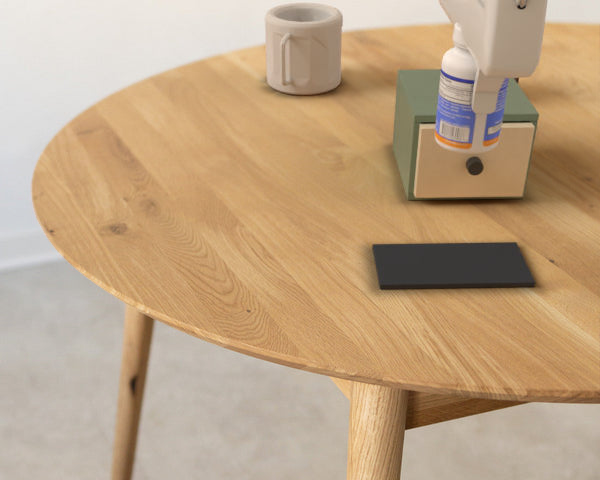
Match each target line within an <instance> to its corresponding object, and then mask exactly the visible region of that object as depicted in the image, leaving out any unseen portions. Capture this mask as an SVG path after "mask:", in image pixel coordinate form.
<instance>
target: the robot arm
mask: <svg viewBox="0 0 600 480" xmlns="http://www.w3.org/2000/svg"><path fill="white" fill-rule="evenodd" d="M438 3H439V5H440V7H441V8H442V10H443V12H444V13H445V15H446V16H447V18H448V19H449V21H450V23H451V24H452V26H453V27H454V26H455V23H456V22H457V24H458V25H459V27H460V29H461V38H462V40H463V42H464V44H465V45H466V47H467V48H468V50H469V52H470V53H471V55H472V56H473V58H474V60H475V61H476V65H475V69H476V70H477V72H476V77H475V82H474V85H471V91H470V99H469V103H470V106H471V108H472V110H473V112H474V113H476V114H491V113H493V112H494V111H495V109H496V104H497V98H498V92H499V90H500V88H501V86H502V84H503V82H504V80H505V78H519V79H523V78H531V77H532V76H533V74H534V73H535V72H536V69H537V68H538V65H539V62H540V59H541V55H542V48H543V41H544V33H545V25H546V17H547V7H548V0H438ZM453 33H454V29H453V31H452V34H453ZM453 47H455V44H454V43H453Z"/></svg>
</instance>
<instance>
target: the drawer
mask: <svg viewBox="0 0 600 480" xmlns="http://www.w3.org/2000/svg"><path fill="white" fill-rule="evenodd" d="M421 123H422V124H420V127H419V138H418V149H417V160H416V171H415V182H414V196H415V198H442V197H516V196H523V190H524V185H525V179H526V174H527V168H528V163H529V157H530V152H531V146H532V141H533V135H534V130H535V127H534V125H533V124H532V123H521V121H502V127H501V133H500V139H499V142H498V144H497V146H496V147H495V148H494V149H492V150H490V151H488V152H484V153H476V154H467V153H458V152H453V151H449V150H447V149H444V148H443V147H441V146H440V145H439V144H438V143H437V142H436V140H435V125H436V122H421Z"/></svg>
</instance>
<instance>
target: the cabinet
mask: <svg viewBox="0 0 600 480" xmlns="http://www.w3.org/2000/svg"><path fill="white" fill-rule="evenodd" d="M440 75H441V68H435V69H434V68H431V69H429V68H428V69H426V68H425V69H417V68H416V69H397V77H396V88H395V90H396V91H395V101H394V102H395V104H394V119H393V131H392V132H393V133H392V147H391V148H392V150H393V155H394V158H395V161H396V165H397V168H398V172H399V175H400V178H401V182H402V186H403V189H404V193H405V196H406V200H407V201H429V200H430V201H437V200H439V201H440V200H441V201H442V200H443V201H444V200H501V199H502V200H511V199H514V200H515V199H516V200H517V199H519V200H520V199H524V198H525V193H526V188H527V182H528V177H529V172H530V166H531V161H532V156H533V151H534V145H535V138H536V133H537V129H538V121H539V116H540V113H539V112H538V110H537V108H536V107H535V106H534V104H533V103H532V102H531V99H529V98H528V95H526V93H525V92H524V90H523V89H522V87H521V86H520V85H519V82H518V83H517V82H516V81H515V79H514V78H509V81H508V87H507V94H506V101H505V107H504V114H503V120H502V121H521V123H532V124H533V125H534V127H535V130H534V135H533V141H532V146H531V152H530V157H529V163H528V168H527V174H526V179H525V185H524V190H523V196H516V197H442V198H415V196H414V182H415V171H416V160H417V149H418V138H419V127H420V124H422V123H421V122H436V115H437V105H438V95H439V84H440Z"/></svg>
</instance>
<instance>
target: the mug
mask: <svg viewBox="0 0 600 480" xmlns="http://www.w3.org/2000/svg"><path fill="white" fill-rule="evenodd" d="M343 21H344V16H343V13H342V11H341V10H339V9H338V8H336V7H333V6H332V5H327V4H323V3H315V2H293V3H285V4H280V5H277V6H275V7H272V8H270V9H269V10H267V11H266V13H265V15H264V29H265V31H264V32H265V64H266V65H265V67H266V68H265V69H266V71H265V73H266V82H267V84H268V85H269V87H271V88H272V89H273V90H275V91H277V92H280V93H283V94H288V95H294V96H295V95H296V96H311V95H312V96H313V95H319V94H324V93H325V94H326V93H328V92H330V91H333V90H335V89H336V88H337V87H338V86H339V85H340V84H341V81H342V35H343V27H344V26H343V25H344V24H343V23H344V22H343Z"/></svg>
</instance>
